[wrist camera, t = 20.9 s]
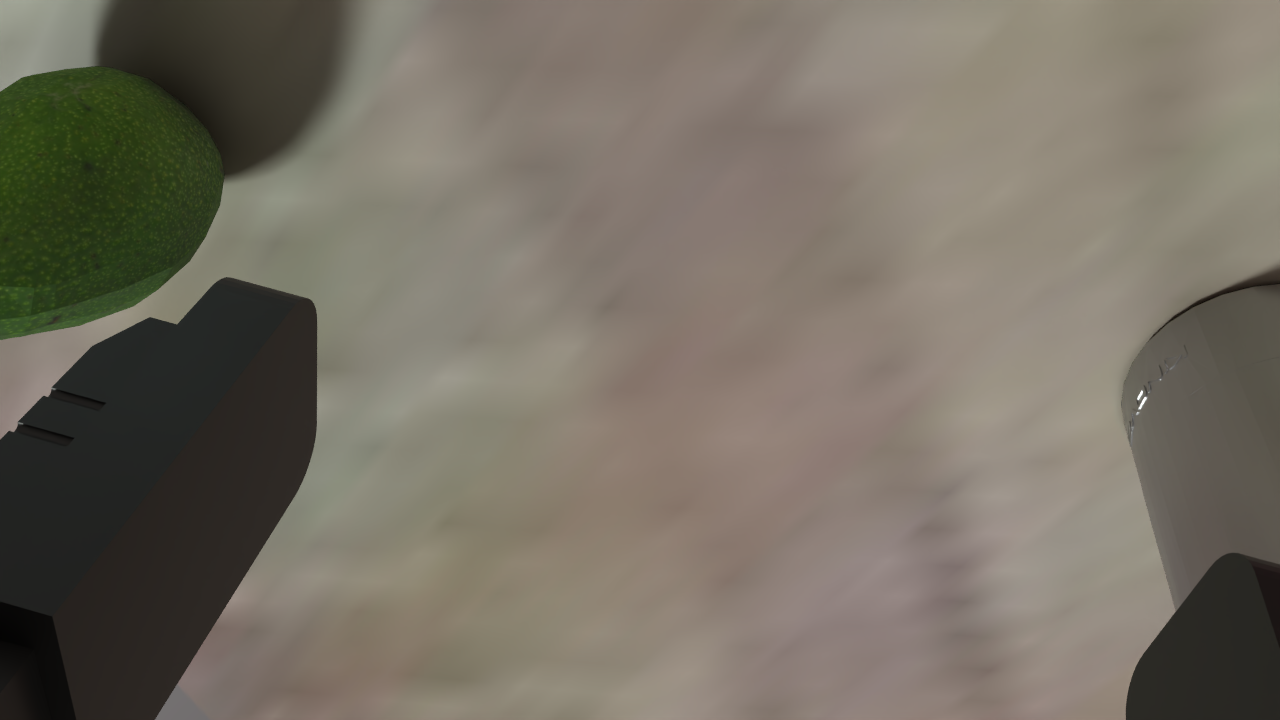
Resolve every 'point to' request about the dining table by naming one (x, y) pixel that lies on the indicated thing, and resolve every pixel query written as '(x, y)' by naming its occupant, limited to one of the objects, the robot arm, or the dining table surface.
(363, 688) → the dining table surface
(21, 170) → the avocado
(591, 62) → the dining table surface
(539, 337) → the dining table surface
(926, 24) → the dining table surface
